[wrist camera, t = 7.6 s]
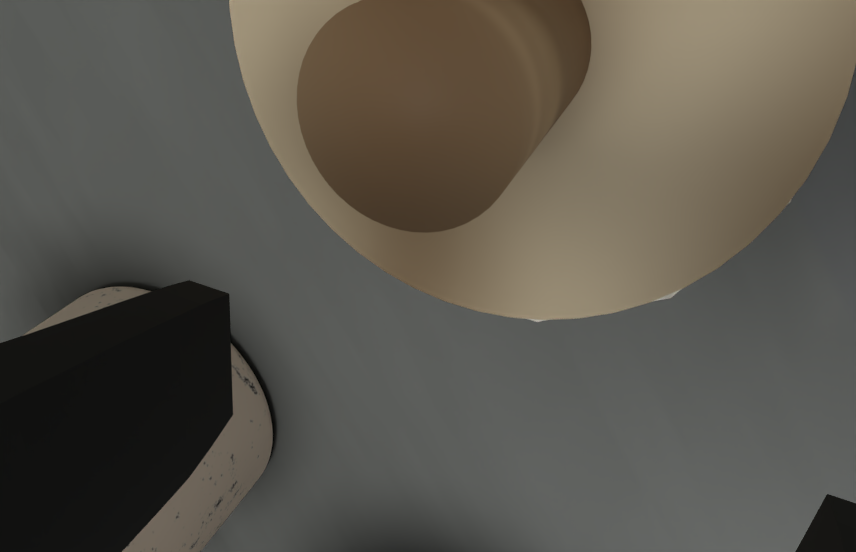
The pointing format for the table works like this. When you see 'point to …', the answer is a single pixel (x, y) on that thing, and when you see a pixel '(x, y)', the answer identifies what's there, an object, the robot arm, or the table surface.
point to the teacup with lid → (222, 465)
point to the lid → (547, 135)
